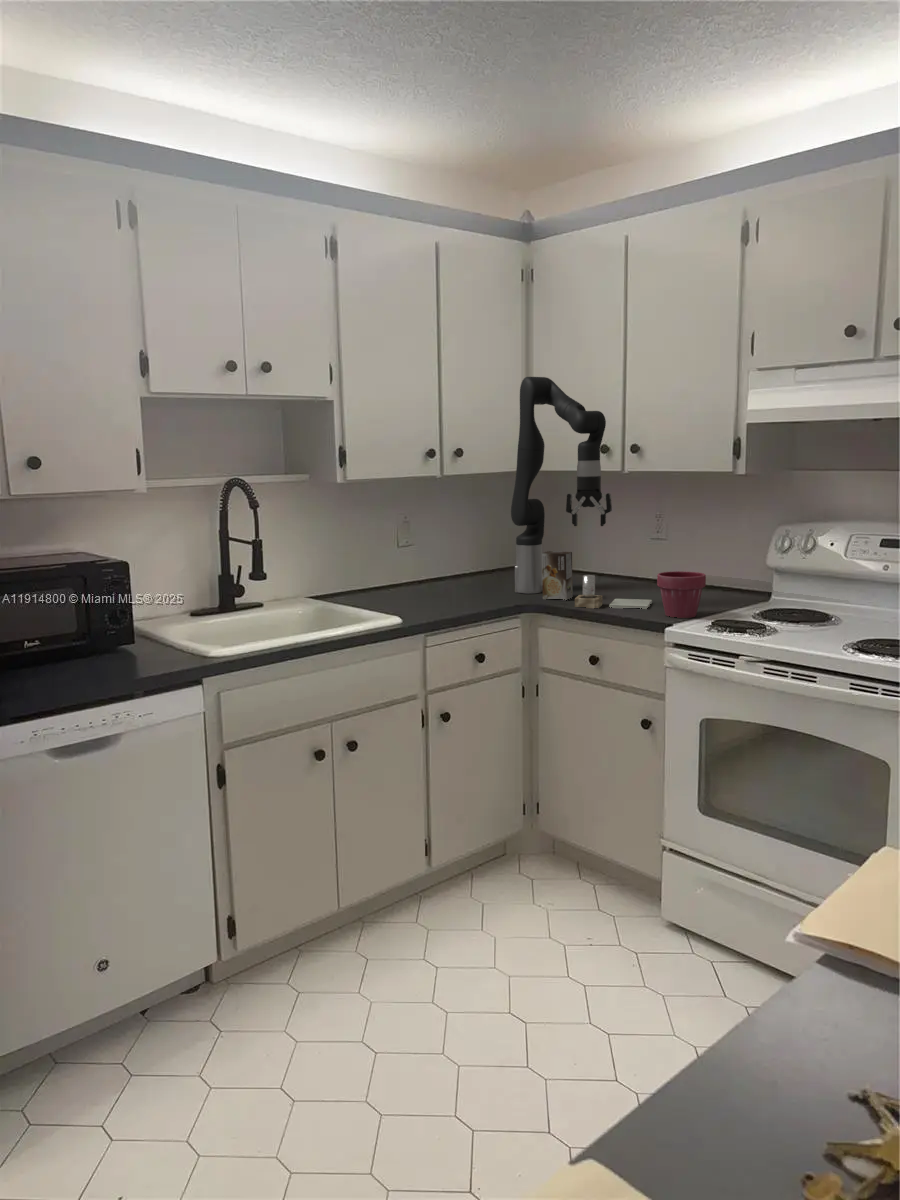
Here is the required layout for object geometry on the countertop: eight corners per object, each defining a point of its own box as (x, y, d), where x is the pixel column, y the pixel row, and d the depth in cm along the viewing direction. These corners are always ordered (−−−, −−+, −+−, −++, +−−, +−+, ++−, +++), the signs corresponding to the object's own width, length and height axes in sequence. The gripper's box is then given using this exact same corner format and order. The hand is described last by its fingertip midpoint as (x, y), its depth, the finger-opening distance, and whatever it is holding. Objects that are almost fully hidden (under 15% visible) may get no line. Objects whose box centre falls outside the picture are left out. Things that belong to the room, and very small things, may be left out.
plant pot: (675, 609, 279) (675, 569, 277) (714, 615, 269) (715, 573, 267) (647, 615, 270) (647, 574, 268) (686, 621, 260) (687, 578, 258)
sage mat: (609, 608, 285) (609, 604, 284) (615, 601, 296) (615, 598, 296) (647, 609, 281) (647, 606, 280) (651, 602, 292) (651, 599, 292)
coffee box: (573, 598, 305) (573, 551, 302) (567, 601, 299) (566, 553, 297) (548, 596, 309) (548, 550, 306) (541, 599, 304) (541, 552, 301)
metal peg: (581, 607, 288) (581, 576, 286) (583, 604, 291) (583, 574, 290) (593, 607, 286) (593, 576, 285) (595, 605, 290) (596, 575, 288)
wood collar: (574, 607, 287) (574, 598, 286) (579, 603, 294) (579, 594, 293) (598, 608, 284) (598, 599, 283) (602, 604, 291) (602, 595, 291)
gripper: (613, 474, 283) (612, 525, 285) (569, 474, 287) (569, 524, 290) (609, 475, 276) (609, 527, 279) (564, 475, 280) (564, 527, 283)
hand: (588, 526), depth 284 cm, fingers open, 8 cm apart
